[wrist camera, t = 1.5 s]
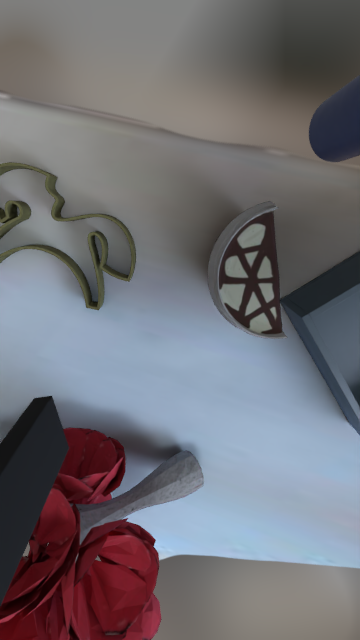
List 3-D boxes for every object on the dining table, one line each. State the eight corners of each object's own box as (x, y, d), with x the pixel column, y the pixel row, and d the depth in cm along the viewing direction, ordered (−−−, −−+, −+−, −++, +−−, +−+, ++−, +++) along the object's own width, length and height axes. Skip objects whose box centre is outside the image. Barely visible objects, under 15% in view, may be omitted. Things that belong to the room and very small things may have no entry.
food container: (191, 214, 33) (200, 214, 24) (247, 204, 33) (278, 199, 24) (207, 319, 37) (220, 354, 28) (257, 310, 37) (287, 343, 28)
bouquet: (153, 362, 46) (-105, 439, 32) (271, 475, 28) (-216, 786, 13) (157, 466, 55) (-45, 565, 40) (249, 607, 36) (-62, 885, 22)
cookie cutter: (-36, 258, 34) (-48, 260, 32) (-15, 145, 31) (-27, 141, 29) (118, 314, 37) (115, 320, 35) (153, 217, 33) (152, 217, 31)
